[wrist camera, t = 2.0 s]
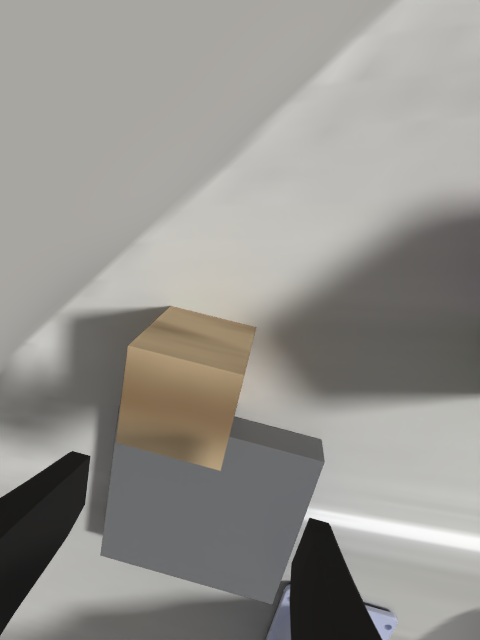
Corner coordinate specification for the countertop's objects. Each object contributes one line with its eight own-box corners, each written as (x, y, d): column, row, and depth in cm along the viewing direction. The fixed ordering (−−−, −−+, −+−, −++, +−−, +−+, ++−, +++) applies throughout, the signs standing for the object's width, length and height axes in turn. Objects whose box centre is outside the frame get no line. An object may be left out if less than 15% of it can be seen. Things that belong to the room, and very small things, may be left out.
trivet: (273, 575, 26) (272, 604, 25) (113, 530, 27) (100, 555, 25) (321, 439, 22) (324, 461, 21) (132, 390, 23) (119, 407, 21)
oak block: (237, 402, 22) (220, 470, 17) (158, 381, 23) (115, 442, 17) (256, 327, 21) (244, 375, 15) (171, 305, 21) (128, 345, 15)
